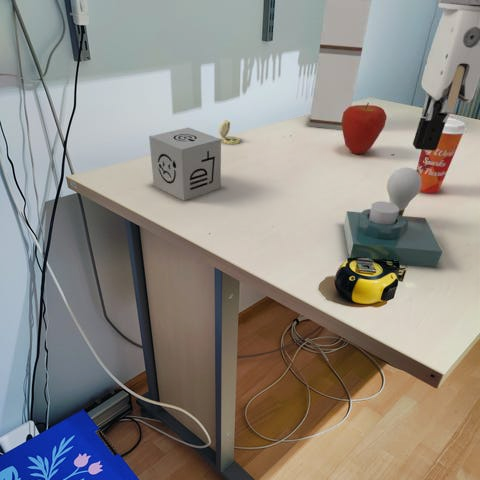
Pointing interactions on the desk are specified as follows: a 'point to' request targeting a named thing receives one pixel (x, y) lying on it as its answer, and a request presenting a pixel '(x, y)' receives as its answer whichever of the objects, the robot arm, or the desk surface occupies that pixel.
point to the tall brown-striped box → (338, 60)
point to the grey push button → (383, 213)
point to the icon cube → (186, 162)
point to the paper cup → (440, 157)
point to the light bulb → (403, 187)
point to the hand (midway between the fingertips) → (424, 147)
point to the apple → (362, 126)
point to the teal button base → (392, 239)
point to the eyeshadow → (224, 131)
